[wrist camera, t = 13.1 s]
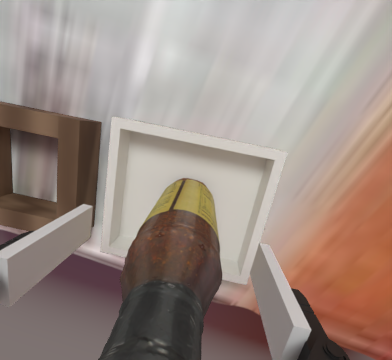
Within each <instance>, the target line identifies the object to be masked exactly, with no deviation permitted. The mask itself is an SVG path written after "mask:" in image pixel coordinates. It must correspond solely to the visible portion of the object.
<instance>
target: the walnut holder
mask: <svg viewBox="0 0 392 360" xmlns="http://www.w3.org/2000/svg"><path fill="white" fill-rule="evenodd" d="M10 128H11V129H16V130H21V131H26V132H30V133H35V134H40V135H45V136H49V137H54V138H58V166H57V203H56V202H51V201H47V200H42V199H38V198H33V197H29V196H24V195H20V194H15V193H13V189H12V164H11V139H10ZM100 135H101V122H98V121H93V120H88V119H83V118H78V117H73V116H69V115H64V114H59V113H54V112H49V111H44V110H39V109H34V108H30V107H25V106H20V105H15V104H10V103H5V102H0V225H4V226H8V227H12V228H17V229H21V230H26V231H32V230H33V231H36V230H38V229H40V228H41V227H43V226H45V225H47V224H48V223H50V222H52V221H54V220H56V219H57V218H59V217H61V216H63V215H65V214H66V213H68V212H70V211H72V210H74V209H75V208H77V207H79V206H81V205H83V204H86V205H90V206H93V211H92V225H91V228H92V227H93V226H94V218H95V204H96V190H97V176H98V163H99V149H100Z"/></svg>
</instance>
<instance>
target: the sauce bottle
mask: <svg viewBox="0 0 392 360" xmlns="http://www.w3.org/2000/svg"><path fill="white" fill-rule="evenodd" d="M221 281H222V268H221V261H220V243H219V236H218V229H217V220H216V213H215V204H214V199H213V196H212V194H211V192H210V191H209V190H208V188H207V187H206V185H205V184H204V183H203V182H200V181H198V180H195V179H190V178H182V179H179V180H177V181H175V182H174V183H172V184H171V185H169V186H168V187H167V188H166V189H165V191H164V192H163V194H162V195H161V197H160V198H159V200H158V201H157V203H156V204H155V206H154V207H153V209H152V210H151V212H150V214H149V215H148V217H147V218H146V220H145V221H144V223H143V224H142V226H141V227H140V229H139V231H138V233H137V236H136V238H135V239H134V240H133V242H132V244H131V246H130V248H129V250H128V253H127V256H126V258H125V265H124V268H123V271H122V273H121V277H120V282H121V288H122V299H123V303H122V305H121V308H120V311H119V317H118V319H117V321H116V323H115V325H114V327H113V329H112V332H111V335H110V337H109V339H108V341H107V343H106V345H105V347H104V349H103V352H102V354H101V356H100V358H99V359H98V360H201V335H202V333H203V327H204V326H203V318H204V316H205V314H206V312H207V309H208V307H209V305H210V303H211V301H212V299H213V297H214V295H215V293H216V292H217V290H218V289H219V286H220V284H221Z"/></svg>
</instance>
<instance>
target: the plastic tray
mask: <svg viewBox="0 0 392 360" xmlns="http://www.w3.org/2000/svg"><path fill="white" fill-rule="evenodd" d="M287 154H288V152H285V151H281V150H278V149H273V148H268V147H263V146H258V145H254V144H249V143H244V142H239V141H234V140H229V139H224V138H219V137H214V136H209V135H204V134H199V133H195V132H190V131H185V130H180V129H175V128H170V127H165V126H160V125H155V124H150V123H145V122H141V121H136V120H131V119H126V118H119V117H112V120H111V131H110V143H109V155H108V167H107V179H106V191H105V202H104V214H103V226H102V238H101V250H100V252H103V253H107V254H112V255H116V256H121V257H125V258H126V256H127V253H128V250H129V248H130V246H131V244H132V242H133V240H134V239H135V238H136V236H137V233H138V231H139V229H140V227H141V226H142V224H143V223H144V221H145V220H146V218H147V217H148V215H149V214H150V212H151V210H152V209H153V207H154V206H155V204H156V203H157V201H158V200H159V198H160V197H161V195H162V194H163V192H164V191H165V189H166V188H167V187H168V186H169V185H171V184H172V183H174V182H175V181H177V180H179V179H182V178H190V179H195V180H198V181H200V182H203V183H204V184H205V185H206V187H207V188H208V190H209V191H210V192H211V194H212V196H213V199H214V204H215V213H216V220H217V229H218V236H219V243H220V261H221V268H222V280H226V281H230V282H235V283H239V284H243V285H247V282H248V278H249V275H250V271H251V268H252V264H253V261H254V258H255V255H256V252H257V248H258V245H259V243H260V240H261V237H262V234H263V230H264V227H265V224H266V221H267V218H268V214H269V211H270V208H271V205H272V202H273V198H274V195H275V192H276V189H277V186H278V182H279V179H280V176H281V173H282V170H283V166H284V163H285V160H286V157H287Z"/></svg>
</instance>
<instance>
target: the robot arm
mask: <svg viewBox="0 0 392 360" xmlns="http://www.w3.org/2000/svg"><path fill="white" fill-rule="evenodd" d="M92 211H93V206H90V205H86V204H83V205H81V206H79V207H77V208H75V209H74V210H72V211H70V212H68V213H66V214H65V215H63V216H61V217H59V218H57V219H56V220H54V221H52V222H50V223H48V224H47V225H45V226H43V227H41V228H40V229H38V230H36V231H33V230H32V231H29V232H26V233H23V234H21V235H19V236H17V237H15V238H13V240H9V241H7V242H6V243H5V244H2V245H0V305H4V306H8V307H10V306H11V305H12V304H14V303H15V302H16V301H17V300H18V299H19V298H21V297H22V296H23V295H24V294H25V293H26V292H27V291H29V290H30V289H31V288H32V287H33V286H35V285H36V284H37V283H38V282H39V281H40V280H41V279H43V278H44V277H45V276H46V275H47V274H48V273H49V272H51V271H52V270H53V269H54V268H55V267H57V266H58V265H59V264H60V263H61V262H62V261H63V260H65V259H66V258H67V257H68V256H69V255H70V254H72V253H73V252H74V251H75V250H76V249H77V248H79V247H80V246H81V245H82V244H83V243H84V242H86V241H87V240H88V239H89V238H90V237H91V225H92ZM250 276H251V280H252V283H253V287H254V291H255V295H256V299H257V303H258V307H259V310H260V314H261V318H262V322H263V326H264V329H265V333H266V337H267V341H268V345H269V348H270V353H271V356H272V360H350V359H349V357H348V355H347V354H346V353H345V352H344V350H343V349H342V348H341V347H340V346H338V345H337V344H336V343H335V342H333V341H331V340H330V339H328V337H327V335H326V333H325V331H324V330H323V328H322V326H321V324H320V322H319V321H318V319H317V317H316V315H315V314H314V312H313V310H312V308H311V307H310V305H309V303H308V301H307V299H306V298H305V296H304V295H303V294H302V293H301V292H300V291H299V290H296V289H292V288H290V286H289V284H288V282H287V280H286V278H285V276H284V274H283V272H282V270H281V268H280V266H279V264H278V262H277V259H276V257H275V255H274V253H273V251H272V249H271V247H270V245H267V244H263V243H259V245H258V248H257V252H256V255H255V258H254V261H253V264H252V268H251V271H250Z"/></svg>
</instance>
